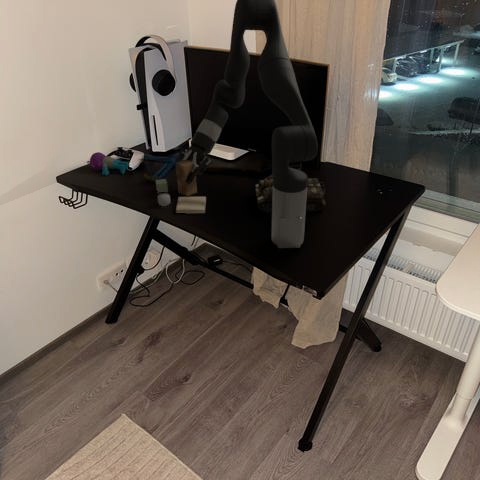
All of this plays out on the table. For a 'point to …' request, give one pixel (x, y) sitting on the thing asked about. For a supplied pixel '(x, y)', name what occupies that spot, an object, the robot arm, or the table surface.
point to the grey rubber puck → (164, 199)
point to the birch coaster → (191, 205)
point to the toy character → (168, 165)
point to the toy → (107, 163)
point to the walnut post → (182, 172)
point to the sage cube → (161, 185)
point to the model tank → (313, 194)
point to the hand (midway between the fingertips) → (182, 180)
